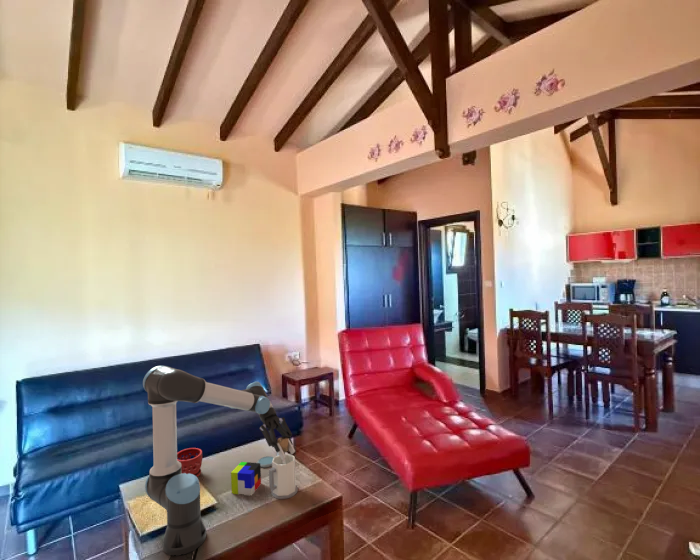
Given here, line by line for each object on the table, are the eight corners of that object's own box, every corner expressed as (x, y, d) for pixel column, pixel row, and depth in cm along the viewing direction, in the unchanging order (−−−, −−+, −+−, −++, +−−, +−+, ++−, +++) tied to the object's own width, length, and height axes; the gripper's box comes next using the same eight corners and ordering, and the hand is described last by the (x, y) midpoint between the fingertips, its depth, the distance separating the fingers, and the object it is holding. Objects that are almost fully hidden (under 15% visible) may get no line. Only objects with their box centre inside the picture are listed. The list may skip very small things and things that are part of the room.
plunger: (282, 493, 169) (281, 444, 168) (272, 486, 174) (270, 439, 174) (296, 485, 175) (295, 438, 174) (285, 479, 180) (284, 434, 180)
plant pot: (169, 478, 189) (168, 455, 188) (194, 467, 199) (193, 445, 199) (183, 487, 181) (182, 462, 180) (208, 475, 191) (207, 451, 191)
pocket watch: (281, 445, 198) (252, 449, 194) (282, 465, 198) (252, 470, 195) (280, 437, 208) (252, 441, 204) (280, 457, 208) (252, 461, 204)
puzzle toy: (251, 495, 172) (250, 474, 172) (231, 493, 174) (230, 472, 174) (261, 483, 182) (260, 463, 182) (242, 482, 184) (241, 461, 184)
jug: (279, 504, 165) (278, 470, 165) (263, 493, 173) (262, 461, 173) (303, 490, 175) (301, 458, 175) (286, 481, 183) (285, 450, 183)
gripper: (278, 410, 191) (300, 451, 180) (246, 421, 178) (268, 466, 167) (284, 401, 187) (307, 443, 177) (252, 412, 174) (275, 458, 163)
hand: (288, 455), depth 172 cm, fingers closed on plunger, 5 cm apart
